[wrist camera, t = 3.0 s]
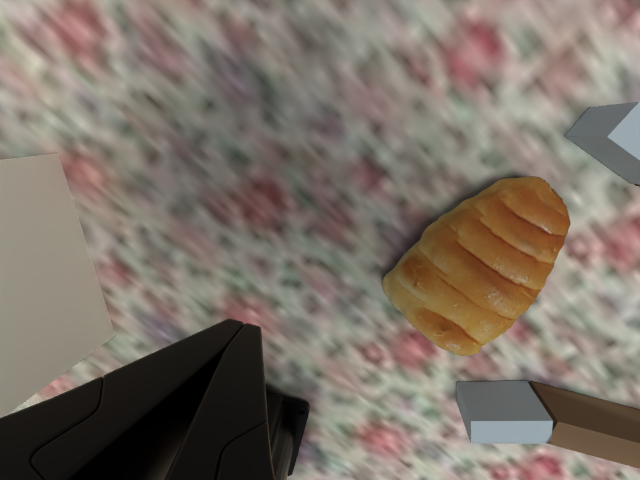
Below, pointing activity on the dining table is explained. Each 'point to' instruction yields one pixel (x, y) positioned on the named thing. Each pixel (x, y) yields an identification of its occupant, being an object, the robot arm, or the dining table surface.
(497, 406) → the holder
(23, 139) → the dining table surface
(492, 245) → the pastry
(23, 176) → the milk
